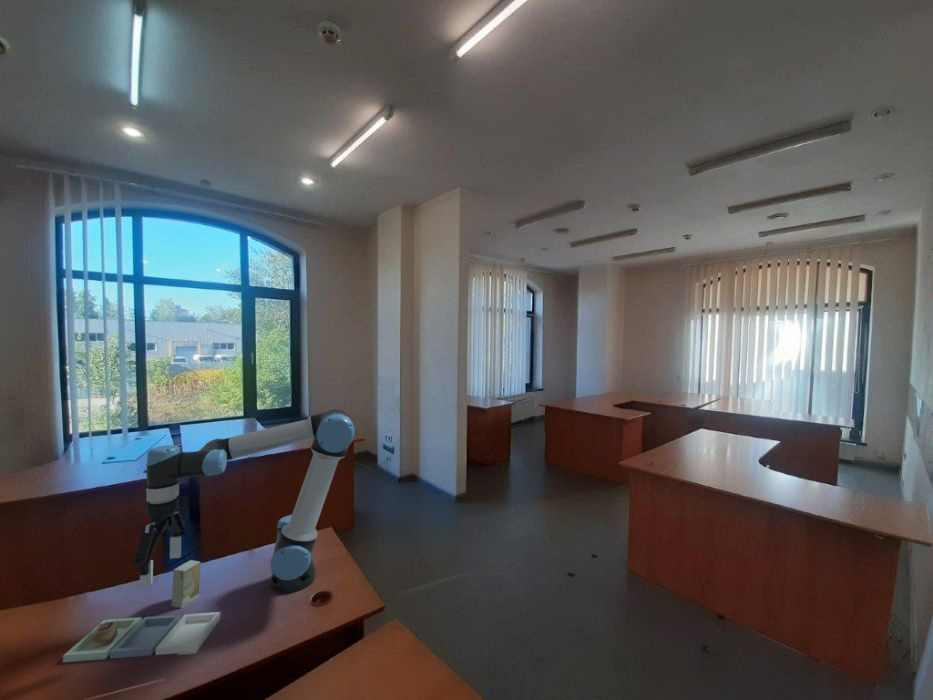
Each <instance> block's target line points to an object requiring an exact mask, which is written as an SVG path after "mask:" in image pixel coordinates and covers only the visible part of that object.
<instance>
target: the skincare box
mask: <svg viewBox="0 0 933 700" xmlns="http://www.w3.org/2000/svg"><path fill="white" fill-rule="evenodd" d="M172 578H173V579H172V591H171V592H172V593H171V607H174V608H180V609H183V608H185V607H186V606H187V605H189V604H191V603H192V602H193V601H196V599H197V598H199V596H200V582H201V581H200V578H201V561H199V560H192V559H190V560H188V561H187V562H184V563H182V564H181V565H179V566H178V567H176V568H174V569H173V574H172Z"/></svg>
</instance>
